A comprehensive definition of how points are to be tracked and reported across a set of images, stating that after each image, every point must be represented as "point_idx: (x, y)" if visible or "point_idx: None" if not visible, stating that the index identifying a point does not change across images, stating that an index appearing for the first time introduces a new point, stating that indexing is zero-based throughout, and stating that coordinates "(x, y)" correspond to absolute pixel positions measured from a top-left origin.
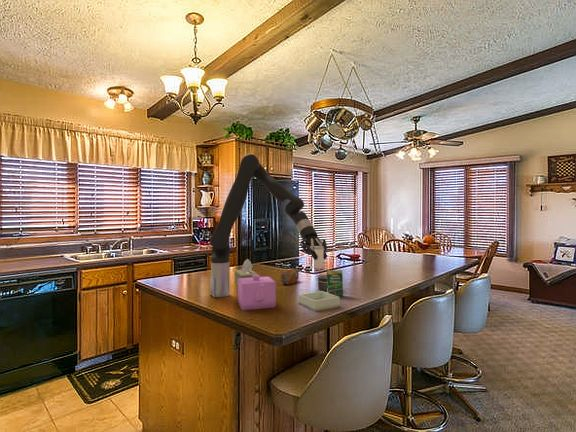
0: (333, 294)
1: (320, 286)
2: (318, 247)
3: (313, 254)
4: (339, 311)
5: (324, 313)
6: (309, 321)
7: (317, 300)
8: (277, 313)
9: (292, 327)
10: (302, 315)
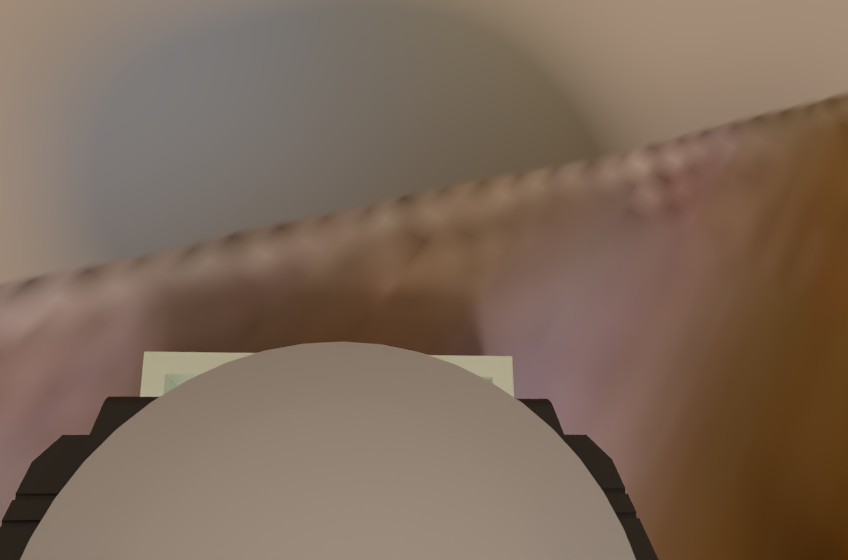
0: None
1: None
2: (508, 406)
3: (631, 515)
4: (278, 254)
5: (442, 278)
6: (669, 175)
7: (471, 361)
8: (836, 506)
9: (837, 136)
10: (651, 332)
